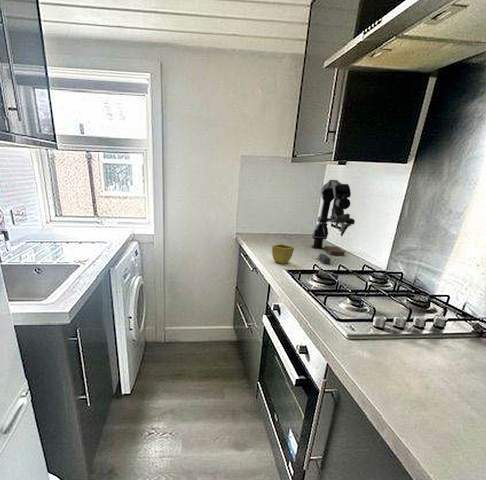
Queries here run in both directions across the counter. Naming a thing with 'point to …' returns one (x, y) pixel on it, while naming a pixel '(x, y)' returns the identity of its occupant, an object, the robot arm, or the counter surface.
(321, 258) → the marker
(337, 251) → the stand
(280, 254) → the flower pot
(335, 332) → the counter surface
